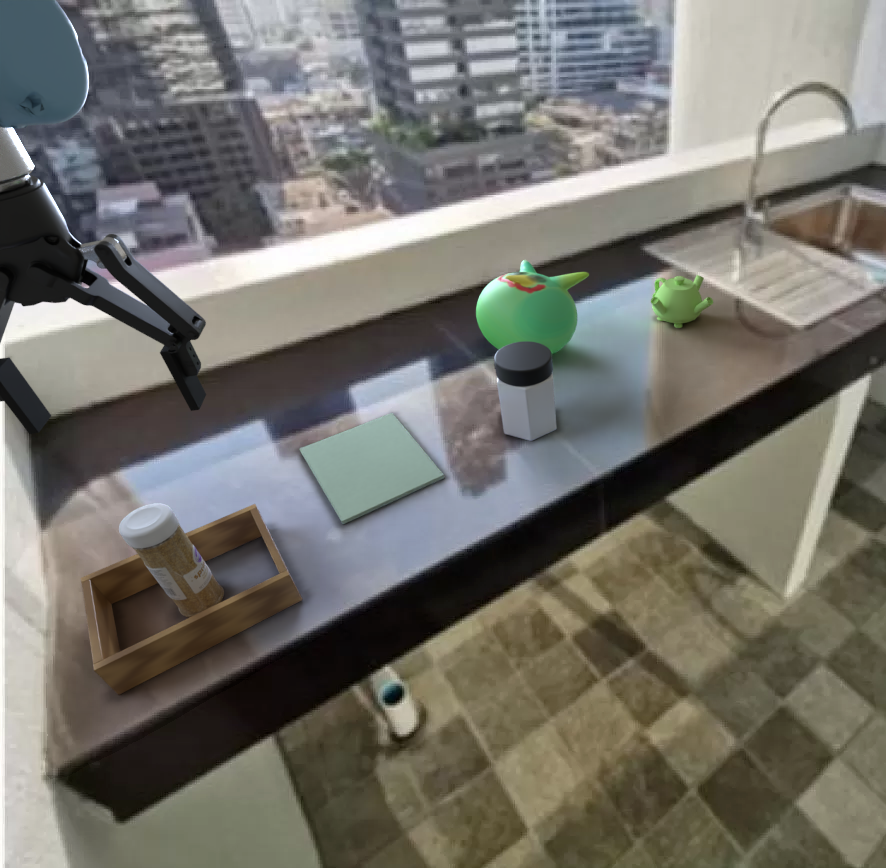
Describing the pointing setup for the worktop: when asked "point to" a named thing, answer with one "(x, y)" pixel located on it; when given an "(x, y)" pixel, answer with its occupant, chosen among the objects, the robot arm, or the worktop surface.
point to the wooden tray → (195, 631)
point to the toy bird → (529, 308)
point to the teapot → (679, 300)
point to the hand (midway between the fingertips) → (121, 413)
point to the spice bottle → (171, 558)
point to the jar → (526, 389)
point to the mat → (369, 466)
